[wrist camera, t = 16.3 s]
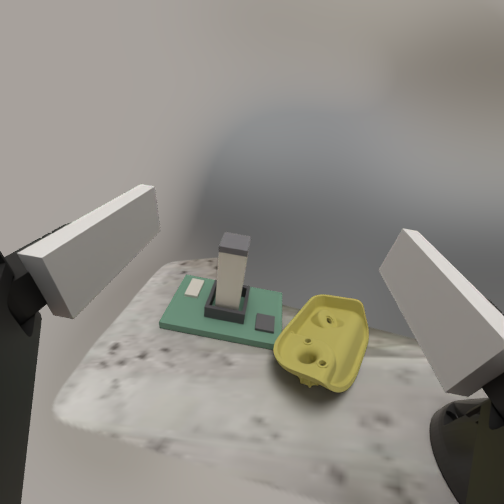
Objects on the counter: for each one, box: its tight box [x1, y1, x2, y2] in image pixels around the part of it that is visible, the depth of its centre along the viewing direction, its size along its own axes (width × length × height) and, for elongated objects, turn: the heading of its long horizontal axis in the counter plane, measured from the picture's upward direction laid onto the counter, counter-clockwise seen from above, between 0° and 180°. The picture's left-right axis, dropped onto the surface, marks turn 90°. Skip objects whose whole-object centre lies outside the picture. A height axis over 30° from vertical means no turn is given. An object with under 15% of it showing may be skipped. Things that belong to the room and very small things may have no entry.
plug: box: [215, 232, 251, 310], centre depth 36 cm, size 4×4×14 cm
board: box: [159, 275, 282, 350], centre depth 40 cm, size 20×12×4 cm, turn 83°
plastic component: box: [273, 295, 369, 392], centre depth 36 cm, size 20×7×10 cm
